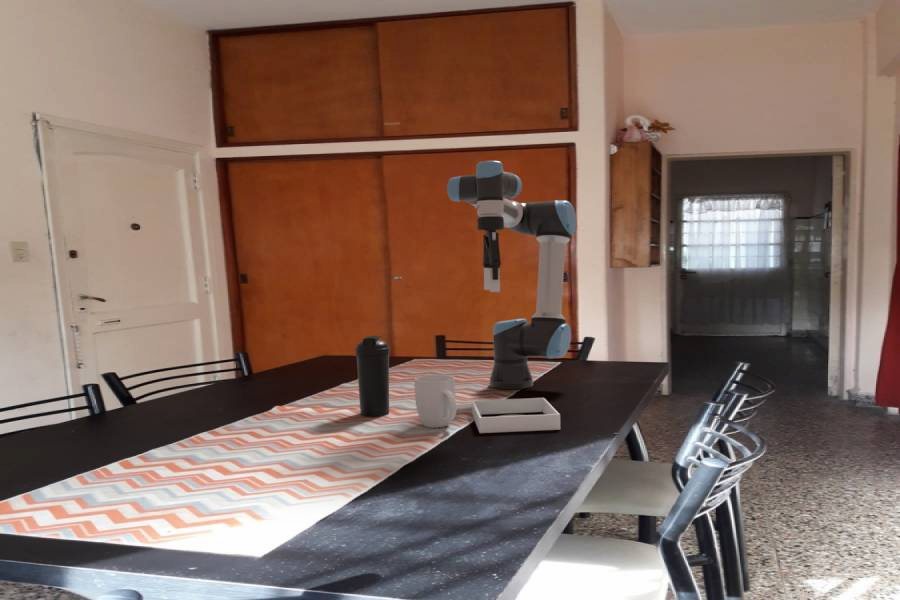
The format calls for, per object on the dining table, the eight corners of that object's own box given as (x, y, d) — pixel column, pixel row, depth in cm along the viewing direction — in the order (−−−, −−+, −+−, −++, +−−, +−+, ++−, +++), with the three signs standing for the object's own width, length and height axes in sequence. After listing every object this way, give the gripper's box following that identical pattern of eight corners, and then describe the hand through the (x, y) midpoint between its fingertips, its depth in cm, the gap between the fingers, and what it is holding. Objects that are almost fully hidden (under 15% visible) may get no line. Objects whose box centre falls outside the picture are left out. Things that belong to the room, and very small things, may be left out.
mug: (472, 428, 183) (470, 380, 182) (437, 435, 177) (435, 385, 176) (442, 418, 196) (440, 372, 195) (408, 424, 190) (406, 377, 189)
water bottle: (394, 409, 209) (392, 334, 207) (388, 417, 199) (385, 338, 197) (362, 409, 210) (359, 334, 208) (354, 417, 200) (351, 339, 198)
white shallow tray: (472, 414, 199) (471, 400, 199) (544, 411, 201) (544, 397, 200) (479, 433, 178) (479, 417, 178) (560, 429, 180) (560, 414, 179)
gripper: (472, 219, 208) (474, 289, 209) (482, 213, 183) (484, 293, 184) (497, 218, 208) (498, 288, 210) (510, 213, 184) (511, 292, 185)
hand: (491, 290), depth 197 cm, fingers open, 13 cm apart
